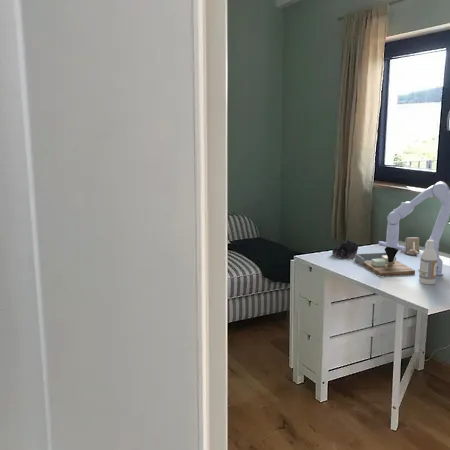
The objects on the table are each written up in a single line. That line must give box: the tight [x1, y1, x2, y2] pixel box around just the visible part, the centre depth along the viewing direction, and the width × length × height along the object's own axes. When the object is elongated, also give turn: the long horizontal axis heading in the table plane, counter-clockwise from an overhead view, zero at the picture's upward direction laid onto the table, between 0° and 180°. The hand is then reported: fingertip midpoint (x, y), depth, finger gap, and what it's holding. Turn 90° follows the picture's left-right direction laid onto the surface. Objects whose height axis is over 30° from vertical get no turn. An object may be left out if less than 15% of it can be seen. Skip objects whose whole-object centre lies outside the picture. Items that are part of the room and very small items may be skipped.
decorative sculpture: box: [399, 236, 420, 256], centre depth 286 cm, size 16×10×7 cm, turn 159°
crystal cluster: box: [332, 239, 359, 260], centre depth 278 cm, size 13×14×10 cm
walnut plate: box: [362, 259, 416, 277], centre depth 253 cm, size 18×18×2 cm
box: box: [354, 251, 397, 266], centre depth 267 cm, size 10×18×4 cm, turn 101°
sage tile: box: [371, 259, 386, 267], centre depth 255 cm, size 5×5×2 cm
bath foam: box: [418, 239, 437, 286], centre depth 233 cm, size 7×7×20 cm
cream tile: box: [382, 255, 395, 263], centre depth 261 cm, size 5×5×2 cm
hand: (390, 262), depth 257 cm, fingers closed
